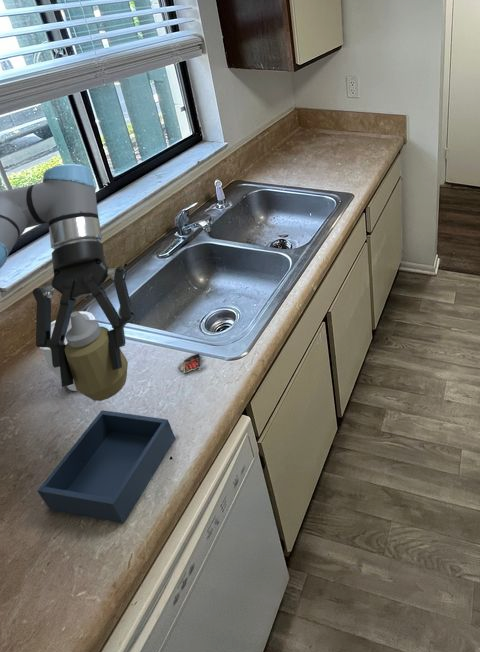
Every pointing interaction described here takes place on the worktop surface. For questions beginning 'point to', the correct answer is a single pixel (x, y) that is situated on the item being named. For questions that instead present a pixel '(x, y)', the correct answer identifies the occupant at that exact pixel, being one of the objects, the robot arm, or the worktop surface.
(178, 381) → the worktop surface
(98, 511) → the bin
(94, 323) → the squeeze bottle
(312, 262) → the worktop surface
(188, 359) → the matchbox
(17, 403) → the worktop surface
